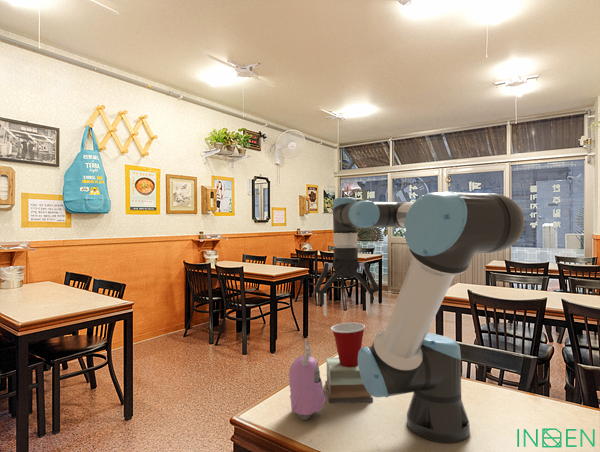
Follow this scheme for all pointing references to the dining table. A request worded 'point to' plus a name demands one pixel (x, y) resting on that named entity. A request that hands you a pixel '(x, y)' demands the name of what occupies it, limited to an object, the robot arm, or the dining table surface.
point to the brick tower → (345, 383)
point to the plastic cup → (348, 342)
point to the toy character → (305, 385)
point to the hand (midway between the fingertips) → (346, 314)
